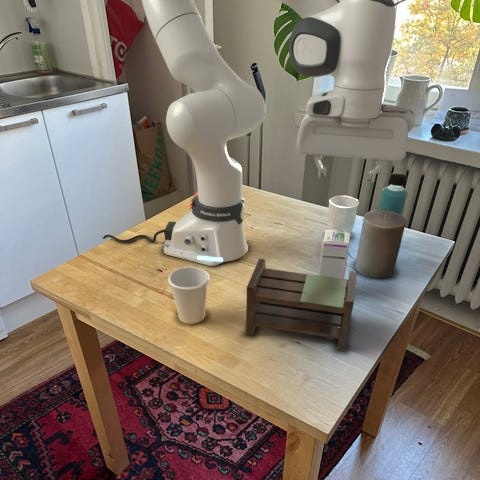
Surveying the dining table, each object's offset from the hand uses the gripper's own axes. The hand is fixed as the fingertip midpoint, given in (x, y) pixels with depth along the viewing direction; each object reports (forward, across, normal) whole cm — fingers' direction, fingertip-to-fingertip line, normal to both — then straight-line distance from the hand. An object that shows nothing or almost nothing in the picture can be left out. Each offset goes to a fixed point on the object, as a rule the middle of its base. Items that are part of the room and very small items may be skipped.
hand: (345, 179), depth 89 cm
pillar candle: (+27, -10, -13) cm, 32 cm away
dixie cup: (+27, +28, +17) cm, 42 cm away
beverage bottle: (+27, -12, -25) cm, 39 cm away
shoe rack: (+27, +5, +15) cm, 31 cm away
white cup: (+27, 0, -29) cm, 40 cm away
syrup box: (+27, 0, 0) cm, 27 cm away
